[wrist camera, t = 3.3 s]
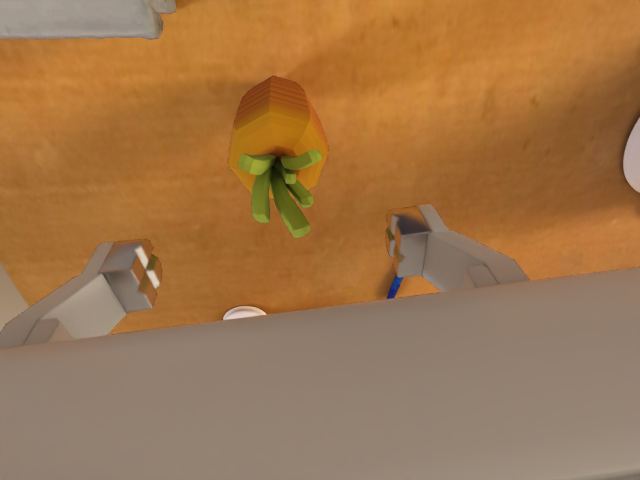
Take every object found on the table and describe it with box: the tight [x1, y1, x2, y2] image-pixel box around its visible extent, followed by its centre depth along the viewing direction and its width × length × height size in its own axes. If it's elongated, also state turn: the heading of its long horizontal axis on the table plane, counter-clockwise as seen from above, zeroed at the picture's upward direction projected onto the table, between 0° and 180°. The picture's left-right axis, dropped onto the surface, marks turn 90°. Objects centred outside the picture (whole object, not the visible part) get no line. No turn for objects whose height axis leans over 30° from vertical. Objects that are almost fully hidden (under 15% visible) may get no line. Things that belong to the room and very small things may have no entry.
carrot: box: [227, 76, 329, 238], centre depth 20 cm, size 5×5×15 cm
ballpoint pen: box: [387, 274, 403, 299], centre depth 37 cm, size 10×1×1 cm, turn 171°
